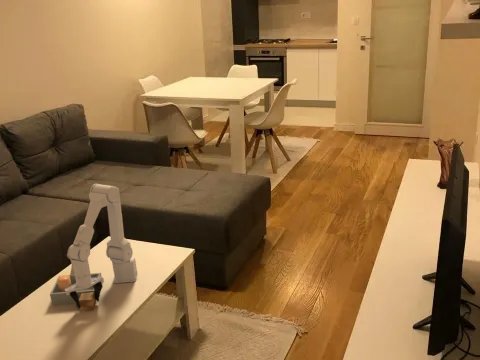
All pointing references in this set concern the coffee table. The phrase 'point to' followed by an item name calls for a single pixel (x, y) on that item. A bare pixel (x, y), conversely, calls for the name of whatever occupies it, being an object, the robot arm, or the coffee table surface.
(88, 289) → the slate tote
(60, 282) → the terracotta cylinder
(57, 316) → the coffee table surface
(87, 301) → the walnut cube
